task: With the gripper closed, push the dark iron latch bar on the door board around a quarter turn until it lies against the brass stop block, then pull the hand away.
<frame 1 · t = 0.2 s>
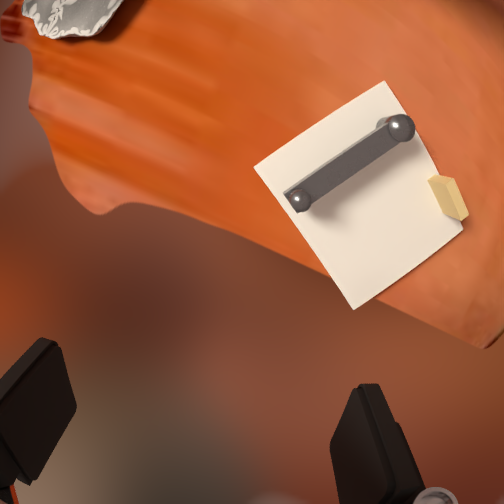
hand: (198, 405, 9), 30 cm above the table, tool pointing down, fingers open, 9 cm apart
latch bar: (351, 159, 31), point 5 cm above the table, hinge at 0.0°
door board: (370, 197, 37), on the table
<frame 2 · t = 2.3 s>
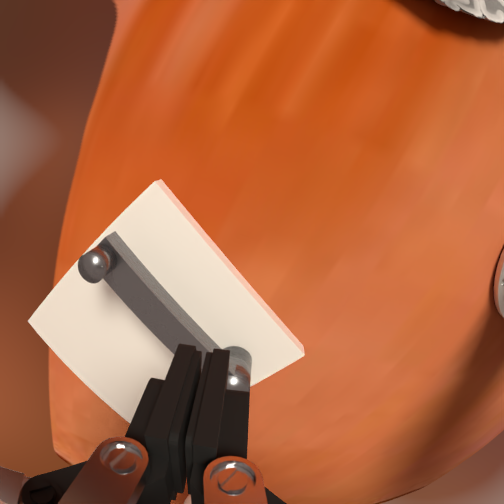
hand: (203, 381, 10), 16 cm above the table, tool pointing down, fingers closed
latch bar: (174, 325, 23), point 5 cm above the table, hinge at 0.0°
door board: (148, 334, 29), on the table
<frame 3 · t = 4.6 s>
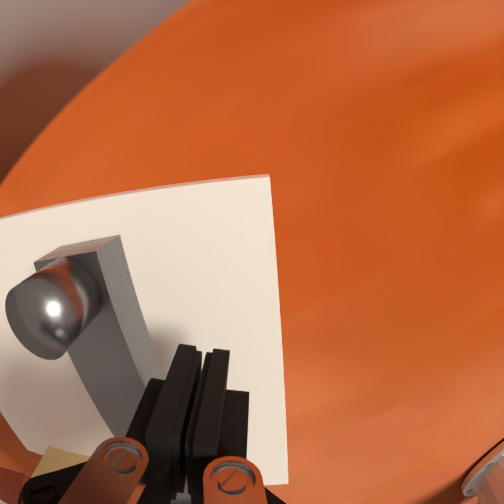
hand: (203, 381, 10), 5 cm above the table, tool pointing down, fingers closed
latch bar: (154, 433, 11), point 5 cm above the table, hinge at 3.3°, touching gripper
door board: (90, 369, 16), on the table
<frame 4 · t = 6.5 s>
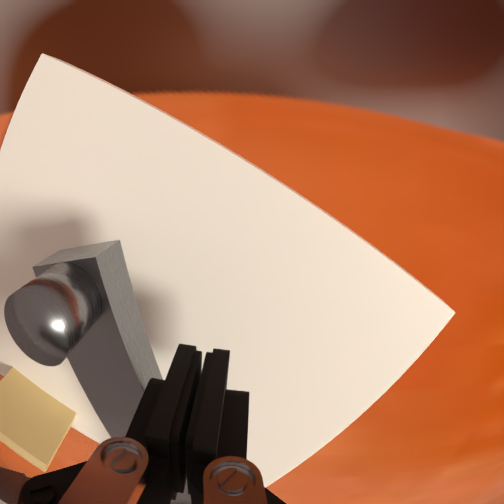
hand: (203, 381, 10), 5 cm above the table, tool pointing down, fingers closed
latch bar: (153, 437, 11), point 5 cm above the table, hinge at 40.6°, touching gripper
door board: (154, 338, 15), on the table
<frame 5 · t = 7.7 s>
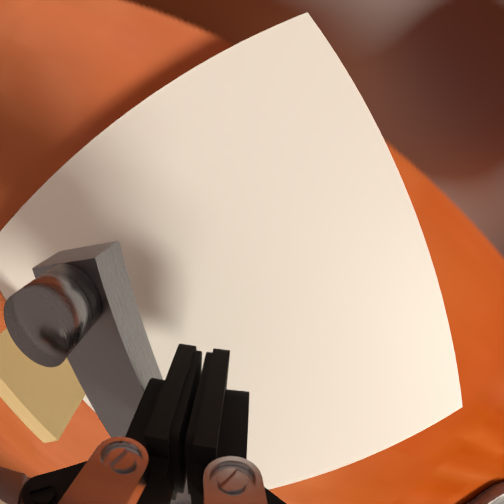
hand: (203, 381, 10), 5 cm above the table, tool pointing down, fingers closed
latch bar: (153, 438, 11), point 5 cm above the table, hinge at 68.6°, touching gripper
door board: (237, 344, 15), on the table
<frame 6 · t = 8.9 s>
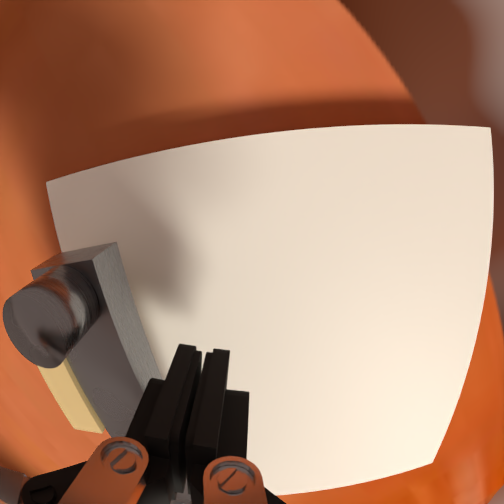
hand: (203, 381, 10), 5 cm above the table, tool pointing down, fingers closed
latch bar: (154, 438, 11), point 5 cm above the table, hinge at 91.3°, touching door board, gripper
door board: (298, 367, 15), on the table
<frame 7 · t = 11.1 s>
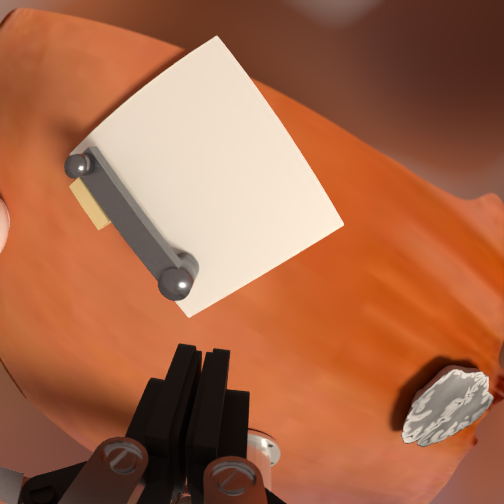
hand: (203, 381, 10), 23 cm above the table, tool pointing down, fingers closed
latch bar: (133, 223, 27), point 5 cm above the table, hinge at 91.3°
door board: (200, 181, 31), on the table
rhino figurine: (199, 489, 50), on the table
brain slice: (442, 400, 41), on the table
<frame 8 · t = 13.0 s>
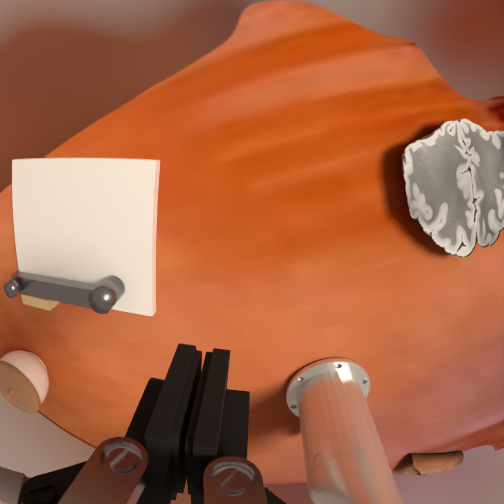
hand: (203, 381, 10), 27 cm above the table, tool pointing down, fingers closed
latch bar: (60, 289, 34), point 5 cm above the table, hinge at 91.3°
lidded jar: (35, 364, 45), on the table
door board: (78, 231, 37), on the table
sunglasses case: (426, 460, 52), on the table
brain slice: (458, 184, 34), on the table
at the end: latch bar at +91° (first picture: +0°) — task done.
